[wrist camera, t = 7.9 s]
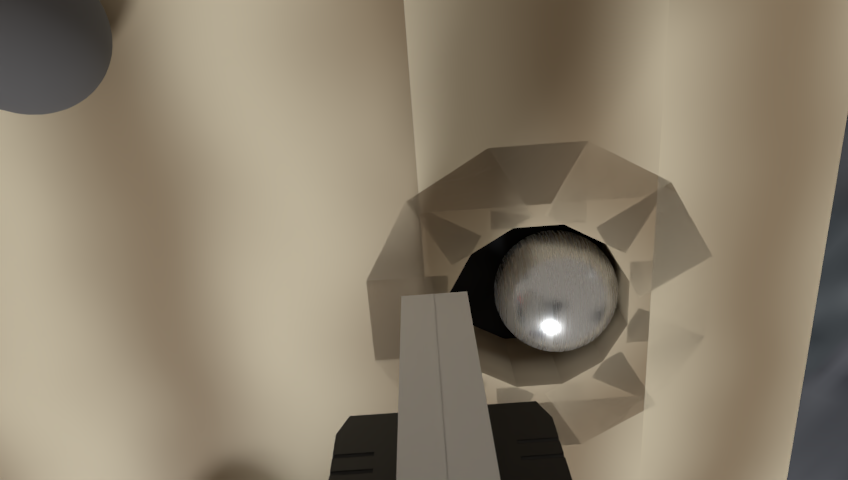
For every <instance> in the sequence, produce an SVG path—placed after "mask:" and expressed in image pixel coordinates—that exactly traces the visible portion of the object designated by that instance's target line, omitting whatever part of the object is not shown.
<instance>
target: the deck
mask: <svg viewBox="0 0 848 480" xmlns="http://www.w3.org/2000/svg"><path fill="white" fill-rule="evenodd" d="M99 1H100V2H101V4H102V6H103V8H104V10H105V12H106V15H107V17H108V20H109V23H110V27H111V32H112V44H113V47H112V56H111V61H110V65H109V67H108V70H107V73H106V75H105V77H104V78H103V80H102V82H101V83H100V84H99V86H98V87H97V88H96V89H95V91H94V92H93V93H92V94H90V95H89V96H88V97H87V98H86V99H84V100H83V101H81V102H80V103H78V104H76V105H75V106H72V107H70V108H68V109H66V110H62V111H59V112H55V113H50V114H43V115H25V114H17V113H13V112H9V111H4V110H1V109H0V480H329V476H330V468H331V462H332V459H333V450H334V443H335V437H336V434H337V432H338V431H339V430H340V428H341V427H342V426H343V424H344V423H345V422H346V420H347V419H348V418H349V416H357V415H371V414H385V413H398V399H399V363H400V328H401V296H409V295H423V294H437V293H450V291H451V289H452V288H453V286H454V284H455V282H456V280H457V279H458V277H459V275H460V273H461V271H462V270H463V268H464V266H465V264H466V262H467V261H468V259H469V257H470V255H471V254H472V253H474V252H476V251H477V250H479V249H480V248H482V247H484V246H485V245H487V244H489V243H490V242H492V241H493V240H495V239H497V238H498V237H500V236H501V235H503V234H505V233H506V232H508V231H510V230H511V229H513V228H522V227H536V226H549V225H563V224H564V225H566V226H568V227H570V228H572V229H575V230H577V231H579V232H581V233H583V234H585V235H587V236H590V237H592V238H594V239H596V240H598V241H600V242H602V243H603V252H604V254H605V255H606V256H607V258H608V259H609V261H610V263H611V265H612V266H613V269H614V272H615V275H616V278H617V283H618V299H617V306H616V309H615V312H614V315H613V317H612V319H611V321H610V323H609V324H608V326H607V327H606V328H605V330H604V331H603V332H602V333H601V334H600V335H599V336H598V337H597V338H595V339H594V340H593V341H591V342H590V343H588V344H586V345H584V346H582V347H580V348H577V349H574V350H570V351H563V352H550V351H544V350H540V349H536V348H534V347H532V346H529V345H527V344H526V343H524V342H522V341H521V340H519V339H518V338H509V339H504V338H501V337H499V336H497V335H494V334H492V333H490V332H487V331H485V330H483V329H480V328H478V327H476V326H473V327H474V333H475V339H476V344H477V350H478V356H479V361H480V367H481V373H482V378H483V384H484V389H485V395H486V401H487V404H501V403H515V402H530V401H536V402H537V403H538V404H539V405H540V406H541V407H542V408H543V409H544V410H546V411H547V412H548V413H549V414H550V415H551V416H552V418H553V421H554V424H555V427H556V430H557V433H558V436H559V441H560V443H561V446H562V449H563V452H564V457H565V458H566V462H567V465H568V468H569V471H570V474H571V477H572V480H787V475H788V469H789V463H790V457H791V451H792V445H793V439H794V433H795V427H796V421H797V415H798V409H799V403H800V397H801V391H802V385H803V379H804V373H805V367H806V361H807V355H808V349H809V343H810V337H811V331H812V325H813V318H814V312H815V306H816V300H817V294H818V288H819V282H820V276H821V270H822V264H823V258H824V252H825V246H826V240H827V234H828V228H829V222H830V216H831V210H832V204H833V198H834V192H835V186H836V180H837V174H838V168H839V162H840V156H841V150H842V144H843V138H844V132H845V126H846V120H847V113H848V0H99Z"/></svg>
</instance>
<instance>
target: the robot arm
mask: <svg viewBox="0 0 848 480" xmlns="http://www.w3.org/2000/svg"><path fill="white" fill-rule="evenodd" d="M329 480H572V477H571V474H570V471H569V468H568V465H567V462H566V458H565V457H564V452H563V449H562V446H561V443H560V441H559V436H558V433H557V430H556V427H555V424H554V421H553V418H552V416H551V415H550V414H549V413H548V412H547V411H546V410H544V409H543V408H542V407H541V406H540V405H539V404H538V403H537V402H536V401H530V402H515V403H501V404H487V401H486V395H485V389H484V384H483V378H482V373H481V367H480V361H479V356H478V350H477V344H476V339H475V333H474V327H473V322H472V316H471V311H470V305H469V299H468V294H467V291H465V292H451V293H437V294H423V295H409V296H401V328H400V363H399V399H398V413H385V414H371V415H357V416H349V418H348V419H347V420H346V422H345V423H344V424H343V426H342V427H341V428H340V430H339V431H338V432H337V434H336V437H335V443H334V450H333V459H332V462H331V468H330V476H329Z"/></svg>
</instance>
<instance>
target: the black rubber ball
mask: <svg viewBox="0 0 848 480" xmlns="http://www.w3.org/2000/svg"><path fill="white" fill-rule="evenodd" d="M112 47H113V44H112V32H111V27H110V23H109V20H108V17H107V15H106V12H105V10H104V8H103V6H102V4H101V2H100V1H99V0H0V109H1V110H4V111H9V112H13V113H17V114H25V115H43V114H50V113H55V112H59V111H62V110H66V109H68V108H70V107H72V106H75V105H76V104H78V103H80V102H81V101H83V100H84V99H86V98H87V97H88V96H89V95H90V94H92V93H93V92H94V91H95V89H96V88H97V87H98V86H99V84H100V83H101V82H102V80H103V78H104V77H105V75H106V73H107V70H108V67H109V65H110V61H111V56H112Z"/></svg>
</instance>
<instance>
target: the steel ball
mask: <svg viewBox="0 0 848 480" xmlns="http://www.w3.org/2000/svg"><path fill="white" fill-rule="evenodd" d="M494 297H495V303H496V307H497V310H498V313H499V315H500V317H501V319H502V321H503V322H504V324H505V326H506V327H507V328H508V329H509V331H510V332H511V333H512V334H513V335H514V336H515V337H517V338H518V339H519V340H521V341H522V342H524V343H526V344H527V345H529V346H532V347H534V348H536V349H540V350H544V351H550V352H563V351H570V350H574V349H577V348H580V347H582V346H584V345H586V344H588V343H590V342H591V341H593V340H594V339H595V338H597V337H598V336H599V335H600V334H601V333H602V332H603V331H604V330H605V328H606V327H607V326H608V324H609V323H610V321H611V319H612V317H613V315H614V312H615V309H616V306H617V299H618V283H617V278H616V275H615V272H614V269H613V266H612V265H611V263H610V261H609V259H608V258H607V256H606V255H605V254H604V252H603V251H602V250H601V249H600V248H599V247H598V246H597V245H596V244H594V243H593V242H592V241H590V240H589V239H587V238H585V237H583V236H581V235H579V234H576V233H573V232H569V231H563V230H547V231H541V232H537V233H534V234H532V235H529V236H527V237H525V238H524V239H522V240H520V241H519V242H518V243H517V244H515V245H514V246H513V247H512V248H511V249H510V250H509V251H508V252H507V254H506V255H505V256H504V258H503V259H502V261H501V263H500V265H499V267H498V270H497V273H496V277H495V283H494Z"/></svg>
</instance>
